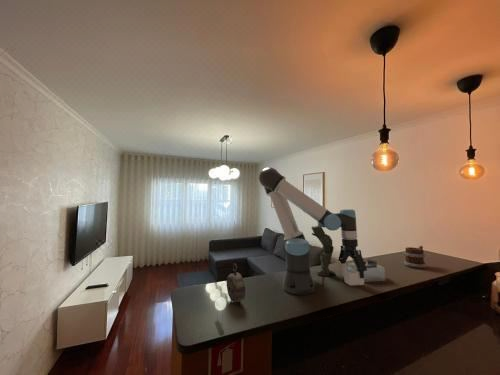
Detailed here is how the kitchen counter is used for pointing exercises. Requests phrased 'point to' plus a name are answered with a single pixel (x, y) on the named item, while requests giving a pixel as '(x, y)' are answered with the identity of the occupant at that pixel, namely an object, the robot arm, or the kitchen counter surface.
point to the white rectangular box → (372, 271)
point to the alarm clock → (235, 287)
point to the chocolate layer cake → (415, 258)
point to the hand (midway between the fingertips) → (352, 279)
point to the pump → (351, 276)
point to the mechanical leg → (324, 251)
